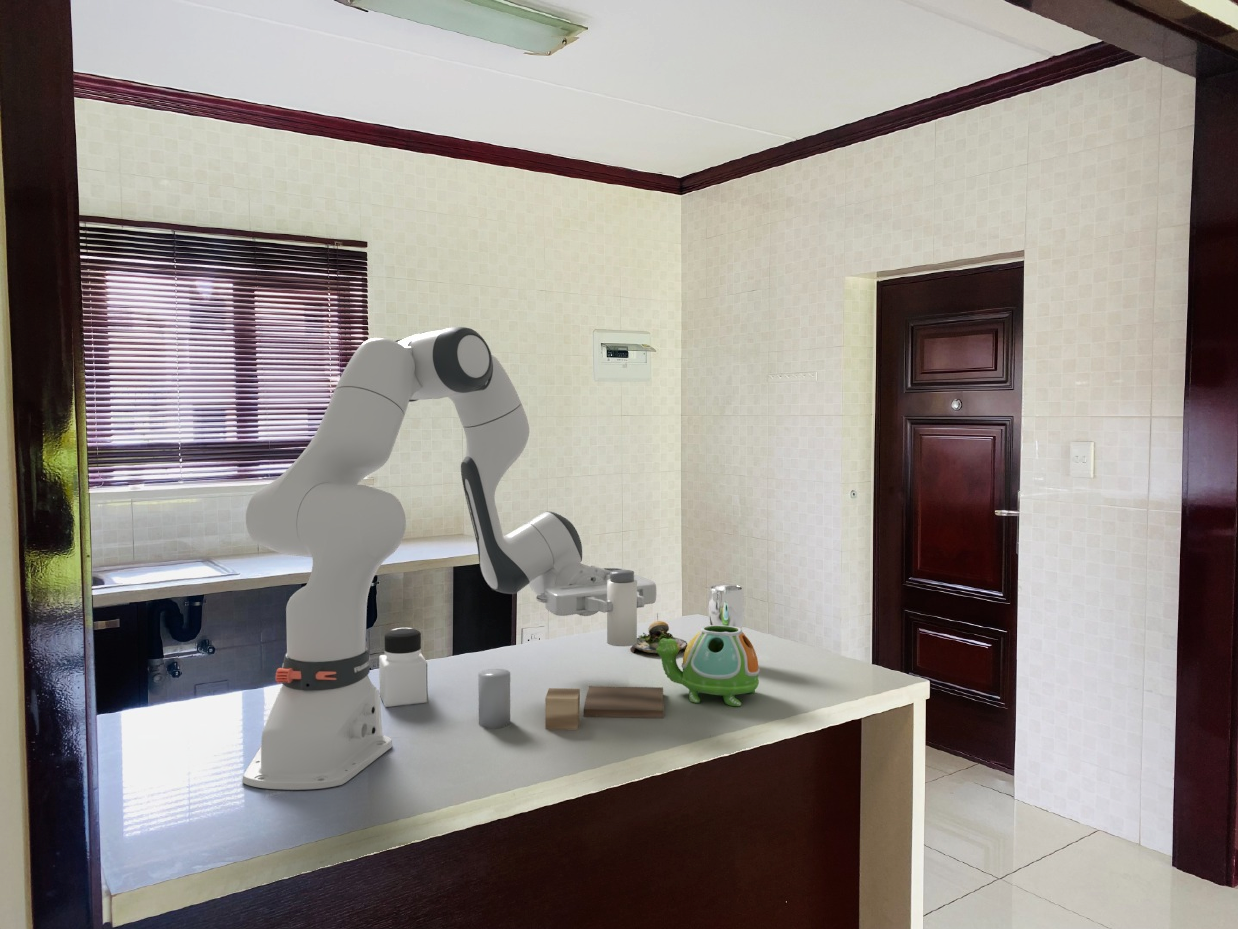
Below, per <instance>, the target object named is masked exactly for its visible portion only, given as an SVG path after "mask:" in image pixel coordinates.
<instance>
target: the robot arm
mask: <svg viewBox="0 0 1238 929" xmlns="http://www.w3.org/2000/svg"><path fill="white" fill-rule="evenodd" d="M444 398H448V399H450V400H451V401H452V402H453V404H454V406H455V409H456V412H457V415H458V417H459V420H460V422H461V426H462V428H463V430H464V434H465V440H466V449H465V450H466V452H465V457H464V458H463V460H462V462H460V463H461V464H460V473H461V481H462V488H463V490H464V491H463V492H464V496H465V499H466V500H465V501H466V504H467V507H468V508H467V509H468V513H469V515H470V516H469V517H470V521H471V524H472V528H473V532H474V536H475V540H476V542H475V543H476V547H477V556H478V563H479V567H480V572H481V574H482V577H483V578H484V580H485V582H486V583H487V585H488V586H489V587H490V588H491V590H492V591H495V592H499V593H500V594H501V593H502V594H508V595H515V594H518V593H519V592H520V591H521V590H523V589H524V588H525V587H527V585H528V586H529V587H530V589H531V590H532V591H533V592H534V593H535V594H536V598H535V599H536V601H538V602H539V603H543V604H545V605H544V606H545V609H546V610H547V611H548V612H550V613H551V614H553V615H555V616H559V617H560V616H561V617H566V616H573V615H578V616H581V617H589V616H594V615H596V614H598V612H601V613H604V614H605V613H607V612H611V611H612V602H611V601H609V600H607V580H609V579H610V571H613V570H627V569H625V568H615V567H614V568H613V567H612V568H610V567H597V566H595V565H591V566H590V565H588V564H587V565H586V564H584V563H582V561H583V545H582V540H581V537H580V535H579V533H578V531H577V529H576V528H575V526H574V524H573V523H572V522H571V521H570V520H569V519H567V518H566V517H564V516H562V515H561V514H559V513H557V512H554V511H543V512H542V513H540V514H539V515H537V516H535V517H533V518H532V519H530V520H528V521H526V522H525V523H524V524H522V525H520V526H519V527H518V528H516V529H513V530H512V531H510V532H509V533H507V534H505V535H504V533H503V531H502V525H501V522H500V518H499V514H498V509H497V506H496V499H495V495H496V490H497V488H498V485H499V483H500V481H501V480H502V478H503V477H504V475H505V474H506V472H507V471H509V469H510V468H511V467H512V466H513V464H514V463H515V462H516V461H517V460H518V459H519V457H520V456H521V455H522V454H523V451H524V450H525V448H526V447H527V443H528V440H529V437H530V425H529V424H530V423H529V420H528V418H527V414H526V412H525V409H524V407H523V405H522V402H521V399H520V397H519V394H518V392H517V390H516V389H515V385H514V384H513V382H512V380H511V379H510V377H509V375H508V373H507V372H506V369H504V367H503V365H502V364H501V362H500V361H499V360H498V358H497V357H496V356H494V355H493V354H492V351H491V349H490V347H489V345H488V344H487V342H486V341H485V339H484V338H483V337H482V336H481V335H480V333H479V332H478V331H476V330H474V329H472V328H471V327H469V328H468V327H464V326H450V327H446V328H444V329H439V330H438V329H437V330H431V331H423V332H419V333H416V334H413V335H411V336H408V337H405V338H403V339H397V340H393V339H390V338H385V337H373V338H369V339H367V340H365V341H364V342H363V343H361V344H360V345H359V346H358V347H357V349H356V350H355V352H354V353H353V355H352V356H351V358H350V359H349V361H348V363H347V364H346V366H345V368H344V369H343V371H342V374H341V376H340V378H339V380H338V381H337V383H336V386H335V389H334V390H333V394H332V395H331V398H330V401H329V403H328V405H327V408H326V410H325V412H324V414H323V417H322V419H321V422H320V424H319V426H318V428H317V430H316V432H315V434H314V436H313V437H312V438H311V440H310V442H309V443H308V444H307V446H306V447H305V449H304V450H303V452H302V453H301V454H300V455H299V456H298V457H297V459H295V461H294V462H293V463H292V464H291V465H290V466H289V467H288V468H287V469H286V470H285V471H284V472H283V473H282V474H281V475H280V476H278V477H277V478H276V479H275V480H273V481H271V482H270V483H268V484H266V485H264V486H262V487H261V488H259V489H258V490H257V491H256V492H255V493H254V494H253V495H252V496H251V498H250V500H249V502H248V505H247V508H246V512H245V525H246V529H247V533H248V534H249V536H250V538H251V539H252V540H253V542H255V543H256V544H257V545H259V546H261V547H262V548H263V547H264V548H266V549H268V550H270V551H272V552H276V553H279V554H281V555H285V556H294V557H295V556H296V557H306V558H312V566H311V570H310V571H311V572H310V575H309V578H308V581H307V582H306V585H304V586H302V587H301V588H299V589H298V590H296V591H294V593H293V594H292V595H291V596H290V597H289V600H288V601H287V604H286V606H285V607H286V608H285V611H286V613H285V615H286V616H285V617H286V618H285V619H286V622H285V623H286V653H285V654H284V658H283V663H282V666H281V667H279V668H277V669H276V672H275V676H274V678H275V681H276V683H278V684H282V685H281V687H280V688H279V692H278V694H277V696H276V699H275V700H274V703H273V706H272V707H271V710H270V713H269V715H268V717H267V720H266V722H265V725H264V728H263V730H262V733H261V741H260V742H261V743H260V744H261V745H260V747H259V748H258V750H257V751H256V753H255V755H254V756H253V758H252V759H251V761H250V763H249V765H248V766H247V767H246V769H245V770H244V772H243V774H242V781H241V782H242V784H243V785H244V784H245V785H247V786H250V787H255V788H261V789H270V790H288V791H289V790H293V791H294V790H296V791H297V790H317V789H318V790H319V789H327V788H333V787H338V786H341V785H344V784H345V783H347V782H349V781H350V780H351V779H352V778H353V777H355V776H357V775H358V774H359V773H360V772H361V771H363V770H364V769H366V768H367V767H368V766H369V765H370V764H371V763H373V762H375V761H376V760H377V759H379V758H380V757H381V756H382V755H383V754H385V753H386V752H387V751H389V750H390V749H391V748H392V747H393V740H392V738H391V737H389V736H387V735H384V734H383V724H382V710H381V709H382V708H381V696H380V689H378V688H377V687H376V686H375V685H374V683H372V681H371V679H370V678H369V674H370V670H371V669H370V668H371V667H370V664H371V657H370V650H369V648H368V647H367V609H368V608H367V606H368V598H369V597H368V596H369V593H370V588H371V586H372V583H373V581H374V577H375V576H376V573H377V571H378V570H379V568H380V567H381V565H383V563H384V562H385V561H386V559H388V558H389V557H390V556H391V555H393V554H394V553H395V552H396V551H397V550H398V548H399V546H400V545H401V543H402V541H403V538H404V537H405V533H406V528H407V527H406V526H407V518H406V514H405V510H404V507H403V506H402V503H401V501H400V500H399V499H398V498H397V496H395V495H394V494H392V493H391V492H387V491H385V490H382V489H379V488H375V487H372V486H370V485H367V484H365V485H364V484H360V482H362V480H364V479H365V478H366V477H368V476H369V475H370V474H372V473H374V472H376V471H378V470H380V468H382V467H383V466H385V465H386V463H387V462H388V461H389V459H390V457H391V454H392V451H393V448H394V446H395V443H396V439H397V438H398V434H399V433H400V430H401V427H402V423H403V421H404V418H405V415H406V413H407V409H408V406H409V402H411V403H412V402H417V401H419V400H420V401H421V400H422V401H423V400H433V399H434V400H439V399H444ZM634 579H635V580H637V609H638V608H639V609H640V608H645V605H650V604H651V605H652V604H655V602H657V585H656V582H654V581H652V580H650V579H648V578H646V577H643V576H640V575H637V574H634Z"/></svg>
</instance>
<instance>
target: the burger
mask: <svg viewBox="0 0 1238 929" xmlns="http://www.w3.org/2000/svg"><path fill="white" fill-rule="evenodd" d="M656 618H657V621H654V622H653V623H651V624H650V625H649V626H648V628H647V629H648V630H647V631H648V634H647V633H645V632H642V634H640V635H638V637H637V643H636V644H635V645H632V646H630V648H629V650H631V651H630V652H631V653H633V654H635V650H636V649H637V650H639V651H641V652H645V653H648V654H658V653H657V651H656V648H658V644H659V642H660V640H661V639H662V638H665V639H674V640H675V641H676V643H677V646H678V648H679V651H681V650H683V649H684V650H686V648H687V645H688V642H687V641H686V640H684V639H681V638H678V637H674V636H673V634H672V633H670V632H668V631H670V627H669V624H668V623H666V622H665V621H662V620H659V616H658V612H657V614H656Z"/></svg>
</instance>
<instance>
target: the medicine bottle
mask: <svg viewBox="0 0 1238 929" xmlns="http://www.w3.org/2000/svg"><path fill="white" fill-rule="evenodd" d="M421 634H422V633H421V632H420V630H418V629H416V628H413V627H398V628H393V629H391V630H389V631H386V633H385V634H384V635H383V636H384V654H380V655H379V658H378V662H379V664H378V666H379V667H378V668H379V669H378V670H379V677H378V678H379V694H380V699H381V700H382V703H383V705H384V707H385V708H391V707H401V706H409V705H416V704H417V705H418V704H425V703H426V704H427V702H428V661H427V660H426V658H425V656H423V654H422V635H421Z"/></svg>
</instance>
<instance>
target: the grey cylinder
mask: <svg viewBox="0 0 1238 929" xmlns="http://www.w3.org/2000/svg"><path fill="white" fill-rule="evenodd" d="M477 676H478V679H477V680H478V691H477V692H478V725H479V726H480V727H481V728H486V729H499V728H504V727H507V726H508V725H510V724H511V671H509V670H508V669H504V668H489V669H484V670H481V671H479V672H478V675H477Z"/></svg>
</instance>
